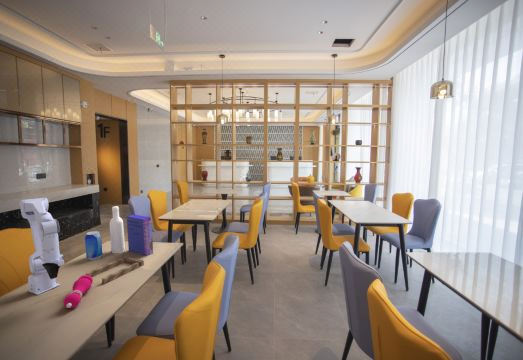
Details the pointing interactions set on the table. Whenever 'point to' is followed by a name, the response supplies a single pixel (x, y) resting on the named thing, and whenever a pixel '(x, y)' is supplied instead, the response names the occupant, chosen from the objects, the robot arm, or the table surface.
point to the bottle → (116, 232)
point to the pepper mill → (78, 291)
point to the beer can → (93, 245)
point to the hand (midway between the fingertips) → (53, 277)
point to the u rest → (133, 261)
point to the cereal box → (140, 234)
